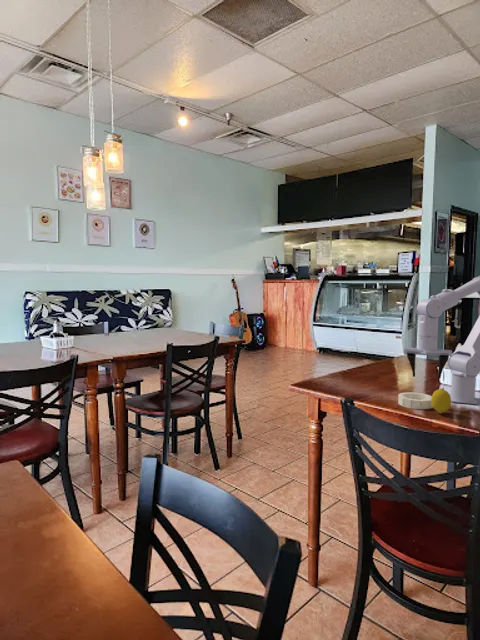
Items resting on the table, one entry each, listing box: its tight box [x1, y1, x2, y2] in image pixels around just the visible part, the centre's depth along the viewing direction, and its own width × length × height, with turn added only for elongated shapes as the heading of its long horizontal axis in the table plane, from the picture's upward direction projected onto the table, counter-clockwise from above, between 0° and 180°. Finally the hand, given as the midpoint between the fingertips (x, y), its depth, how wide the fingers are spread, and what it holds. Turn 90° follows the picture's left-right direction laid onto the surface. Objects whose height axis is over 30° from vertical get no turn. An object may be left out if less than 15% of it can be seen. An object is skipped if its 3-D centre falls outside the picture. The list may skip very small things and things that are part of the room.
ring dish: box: [397, 391, 434, 410], centre depth 147 cm, size 11×11×3 cm
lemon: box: [431, 387, 452, 415], centre depth 137 cm, size 6×6×8 cm
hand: (426, 376), depth 146 cm, fingers open, 7 cm apart
